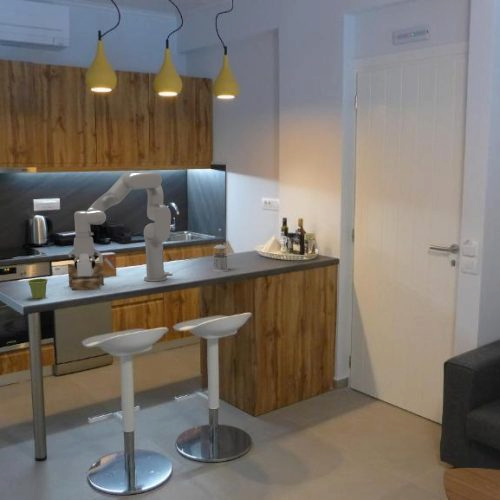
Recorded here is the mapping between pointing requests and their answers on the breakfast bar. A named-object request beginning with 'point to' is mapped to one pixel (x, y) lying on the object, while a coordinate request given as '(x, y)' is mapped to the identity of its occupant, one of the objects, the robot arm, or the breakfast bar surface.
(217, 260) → the french press
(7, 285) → the breakfast bar surface
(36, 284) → the plant pot
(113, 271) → the small box
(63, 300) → the breakfast bar surface
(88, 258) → the medicine bottle
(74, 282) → the wooden crate
